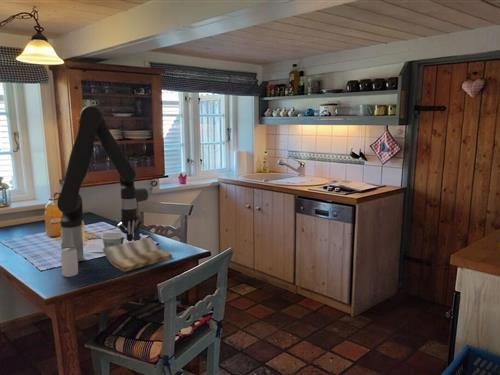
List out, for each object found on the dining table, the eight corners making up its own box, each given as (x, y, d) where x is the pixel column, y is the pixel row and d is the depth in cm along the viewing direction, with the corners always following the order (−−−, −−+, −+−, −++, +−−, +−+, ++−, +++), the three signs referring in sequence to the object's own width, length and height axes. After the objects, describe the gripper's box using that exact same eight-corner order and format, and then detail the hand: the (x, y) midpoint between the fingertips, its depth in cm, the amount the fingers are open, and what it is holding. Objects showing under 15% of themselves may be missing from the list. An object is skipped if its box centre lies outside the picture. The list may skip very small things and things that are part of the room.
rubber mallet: (128, 245, 220) (127, 190, 215) (123, 241, 226) (121, 188, 221) (150, 241, 228) (148, 188, 223) (144, 237, 234) (142, 186, 228)
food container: (129, 244, 222) (128, 232, 221) (119, 251, 211) (119, 239, 210) (107, 243, 224) (107, 231, 222) (97, 250, 212) (97, 238, 211)
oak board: (124, 271, 184) (124, 267, 184) (113, 265, 191) (113, 261, 191) (172, 258, 203) (172, 254, 202) (160, 253, 210) (160, 249, 209)
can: (65, 271, 183) (63, 246, 181) (80, 271, 184) (78, 246, 182) (60, 277, 177) (58, 251, 175) (75, 277, 177) (73, 250, 175)
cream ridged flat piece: (112, 264, 192) (113, 261, 191) (102, 251, 197) (103, 248, 196) (159, 252, 210) (160, 249, 209) (149, 240, 216) (150, 237, 215)
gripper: (120, 210, 194) (121, 245, 197) (144, 206, 203) (145, 239, 206) (112, 207, 199) (113, 241, 202) (136, 203, 208) (137, 236, 211)
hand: (130, 240), depth 204 cm, fingers closed
